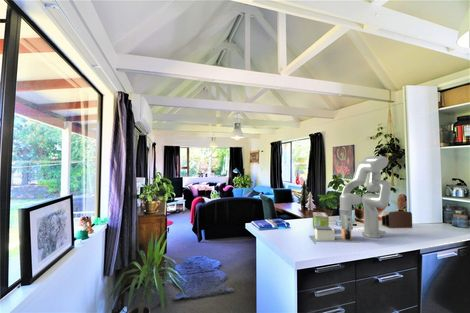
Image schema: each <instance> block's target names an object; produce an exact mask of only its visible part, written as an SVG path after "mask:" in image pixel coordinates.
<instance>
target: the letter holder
mask: <svg viewBox="0 0 470 313" xmlns="http://www.w3.org/2000/svg"><path fill="white" fill-rule="evenodd" d="M381 226H383V227H386V228H388V229H412V228H413V213H412V212H411V211H407V210H406V211H403V210H399V211H390V212H388V213H387V214H385V215H383V216H382V217H381Z"/></svg>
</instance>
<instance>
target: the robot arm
mask: <svg viewBox="0 0 470 313" xmlns="http://www.w3.org/2000/svg"><path fill="white" fill-rule="evenodd" d="M388 164H389V159H388V158H387V157H386V156H383V155H379V156H377V155H375V156H373V155H371V156H365V157H364V158H363V160H362V161H358V163H357V164H356V167H355V170H354V174H353V177H352V179H351V180H350V181H348V182H347V183H346V184H345V186H344V187H343V189H342V192H341V195H339V214H340V227H341V228H344V229H345V230H346V234H345V239H346V240H350V234H351V235H352V231H353V230H354V225H353V224H354V223H353V216H352V215H353V212H352V211H353V210H352V208H353V206H352V205H354V206H358V205H361V204H362V205H363V231H362V232H361V235H362V236H364V237H367V238H374V239H375V238H376V239H380V238H381V237H382V234H383V235H384V234H385V235H386V234H387V232H386V231H385V230H380V229H379V228H380V226H379V211H378V208H380V209H386V208H388V206H389V202H390V195H391V189H392V188H391V185H390V182H389V181H388V180H383V179H382V174H381V171H382V170H383V169H385V168H386V167H387V166H388ZM365 183H366V186H365V187H366V190H367V191H368V193H364V194H363V195H362V196H361V195H360V194H356V193H351V192H352V191H353V189H355V188H357V187H360V186H362V185H364V184H365ZM369 192H372V193H369ZM376 193H378V194H376ZM347 228H348V229H347ZM347 230H348V231H347Z"/></svg>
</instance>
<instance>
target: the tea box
mask: <svg viewBox="0 0 470 313" xmlns="http://www.w3.org/2000/svg"><path fill="white" fill-rule="evenodd" d="M329 222H330V220H329V215H328V214H327V212H318V211H317V212H315V211H313V212H312V230H313V232H314V233H315V226H329ZM329 227H330V226H329Z"/></svg>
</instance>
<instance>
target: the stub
mask: <svg viewBox="0 0 470 313" xmlns="http://www.w3.org/2000/svg"><path fill="white" fill-rule="evenodd" d="M347 229H348V228H347ZM340 231H341V232H340V233H341V236H342V239H343V240H346V239H345V234H346V230H345V229H344V228H342V227H341V230H340ZM347 231H348V230H347ZM351 237H352V233H351V234H350V240H351Z"/></svg>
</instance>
